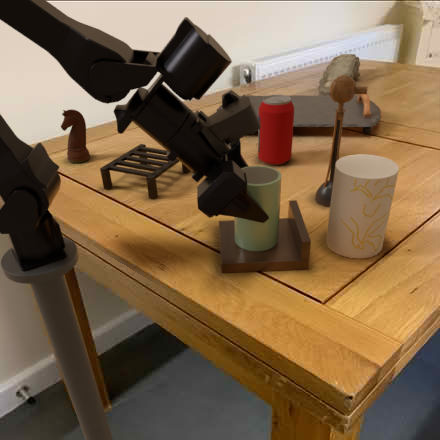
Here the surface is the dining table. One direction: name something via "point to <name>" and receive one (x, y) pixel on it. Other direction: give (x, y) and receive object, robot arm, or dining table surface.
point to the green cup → (270, 201)
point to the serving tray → (329, 111)
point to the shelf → (272, 258)
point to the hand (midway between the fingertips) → (262, 203)
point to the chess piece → (75, 136)
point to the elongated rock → (339, 71)
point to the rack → (141, 166)
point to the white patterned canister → (360, 204)
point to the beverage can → (275, 129)
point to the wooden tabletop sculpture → (337, 130)
